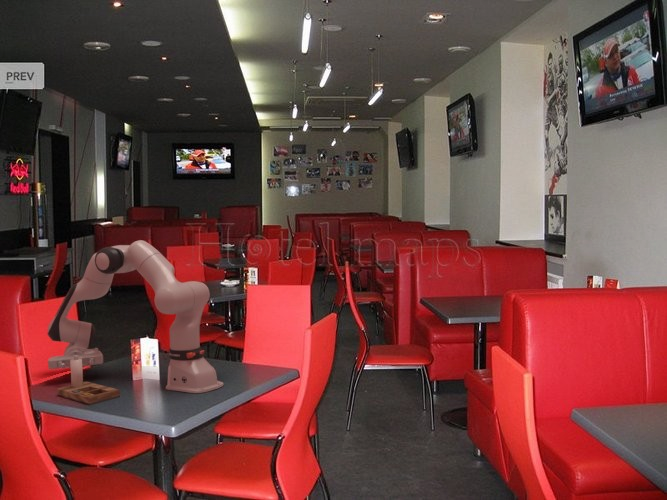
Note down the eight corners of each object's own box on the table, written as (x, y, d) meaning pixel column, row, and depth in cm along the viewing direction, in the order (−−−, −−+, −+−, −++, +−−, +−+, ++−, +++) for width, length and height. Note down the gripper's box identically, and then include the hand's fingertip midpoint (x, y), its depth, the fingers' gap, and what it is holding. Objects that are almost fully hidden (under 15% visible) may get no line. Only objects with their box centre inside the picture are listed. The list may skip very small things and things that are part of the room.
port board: (119, 396, 240) (119, 388, 240) (89, 404, 230) (89, 396, 230) (87, 388, 253) (86, 380, 253) (57, 395, 243) (56, 387, 243)
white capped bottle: (83, 384, 248) (81, 354, 248) (83, 387, 245) (81, 356, 244) (71, 385, 247) (70, 355, 246) (71, 388, 243) (70, 357, 242)
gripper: (47, 352, 265) (46, 359, 252) (101, 347, 273) (103, 353, 260) (48, 368, 266) (47, 376, 253) (102, 362, 273) (104, 369, 260)
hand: (76, 364), depth 257 cm, fingers open, 8 cm apart
